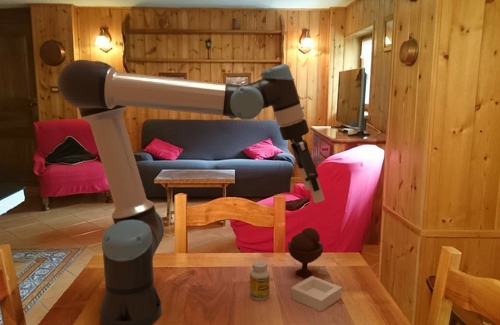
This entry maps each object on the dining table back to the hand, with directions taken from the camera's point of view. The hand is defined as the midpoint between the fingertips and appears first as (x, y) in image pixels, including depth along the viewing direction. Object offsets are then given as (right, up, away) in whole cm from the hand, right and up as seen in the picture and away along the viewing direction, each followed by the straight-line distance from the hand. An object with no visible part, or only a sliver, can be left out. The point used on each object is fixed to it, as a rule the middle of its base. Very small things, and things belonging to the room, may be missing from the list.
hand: (314, 194), depth 116 cm
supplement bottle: (-15, -28, 0) cm, 32 cm away
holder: (0, -29, -1) cm, 29 cm away
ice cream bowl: (-1, -26, +13) cm, 29 cm away
